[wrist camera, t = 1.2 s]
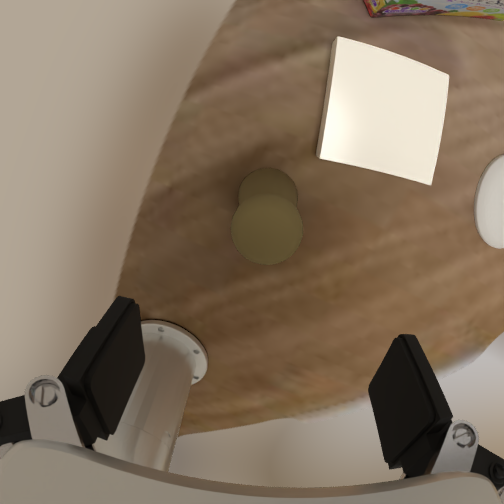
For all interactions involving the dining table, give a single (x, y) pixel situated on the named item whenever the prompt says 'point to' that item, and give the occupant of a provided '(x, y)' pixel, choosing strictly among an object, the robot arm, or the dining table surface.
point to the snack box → (437, 8)
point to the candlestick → (491, 204)
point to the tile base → (382, 111)
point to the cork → (267, 217)
